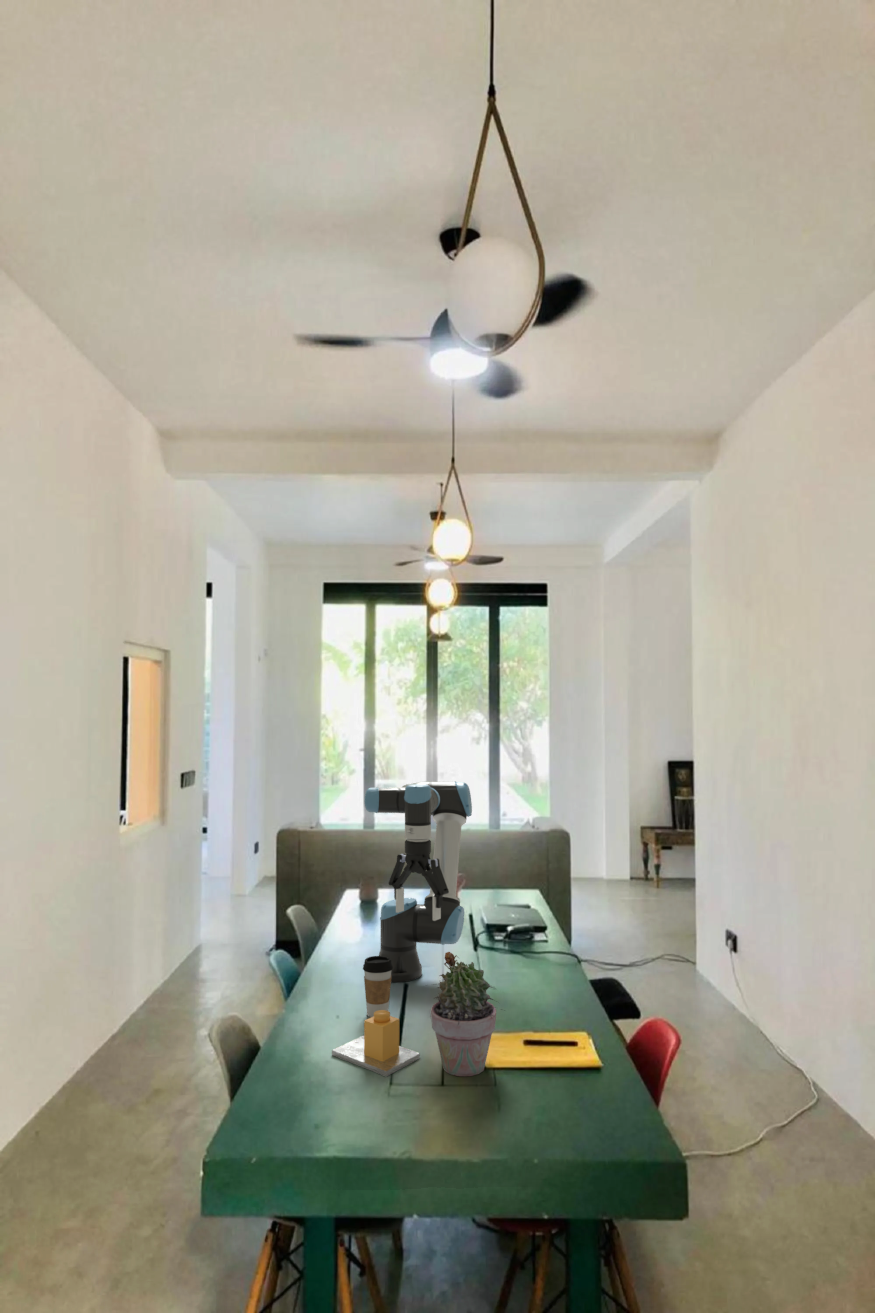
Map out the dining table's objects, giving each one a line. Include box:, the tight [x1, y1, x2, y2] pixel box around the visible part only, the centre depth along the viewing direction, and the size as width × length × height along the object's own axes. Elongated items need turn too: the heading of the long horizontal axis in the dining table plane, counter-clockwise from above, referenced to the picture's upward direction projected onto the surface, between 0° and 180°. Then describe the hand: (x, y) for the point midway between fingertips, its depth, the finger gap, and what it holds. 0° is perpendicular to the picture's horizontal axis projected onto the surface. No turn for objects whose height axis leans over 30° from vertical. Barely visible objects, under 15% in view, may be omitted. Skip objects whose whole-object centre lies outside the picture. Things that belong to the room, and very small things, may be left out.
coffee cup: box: [362, 955, 393, 1018], centre depth 211 cm, size 8×8×15 cm
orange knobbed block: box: [363, 1010, 400, 1062], centre depth 183 cm, size 6×6×10 cm
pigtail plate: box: [331, 1035, 421, 1078], centre depth 184 cm, size 18×12×6 cm, turn 51°
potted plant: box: [424, 951, 506, 1077], centre depth 179 cm, size 18×20×25 cm
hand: (417, 915), depth 214 cm, fingers open, 13 cm apart
